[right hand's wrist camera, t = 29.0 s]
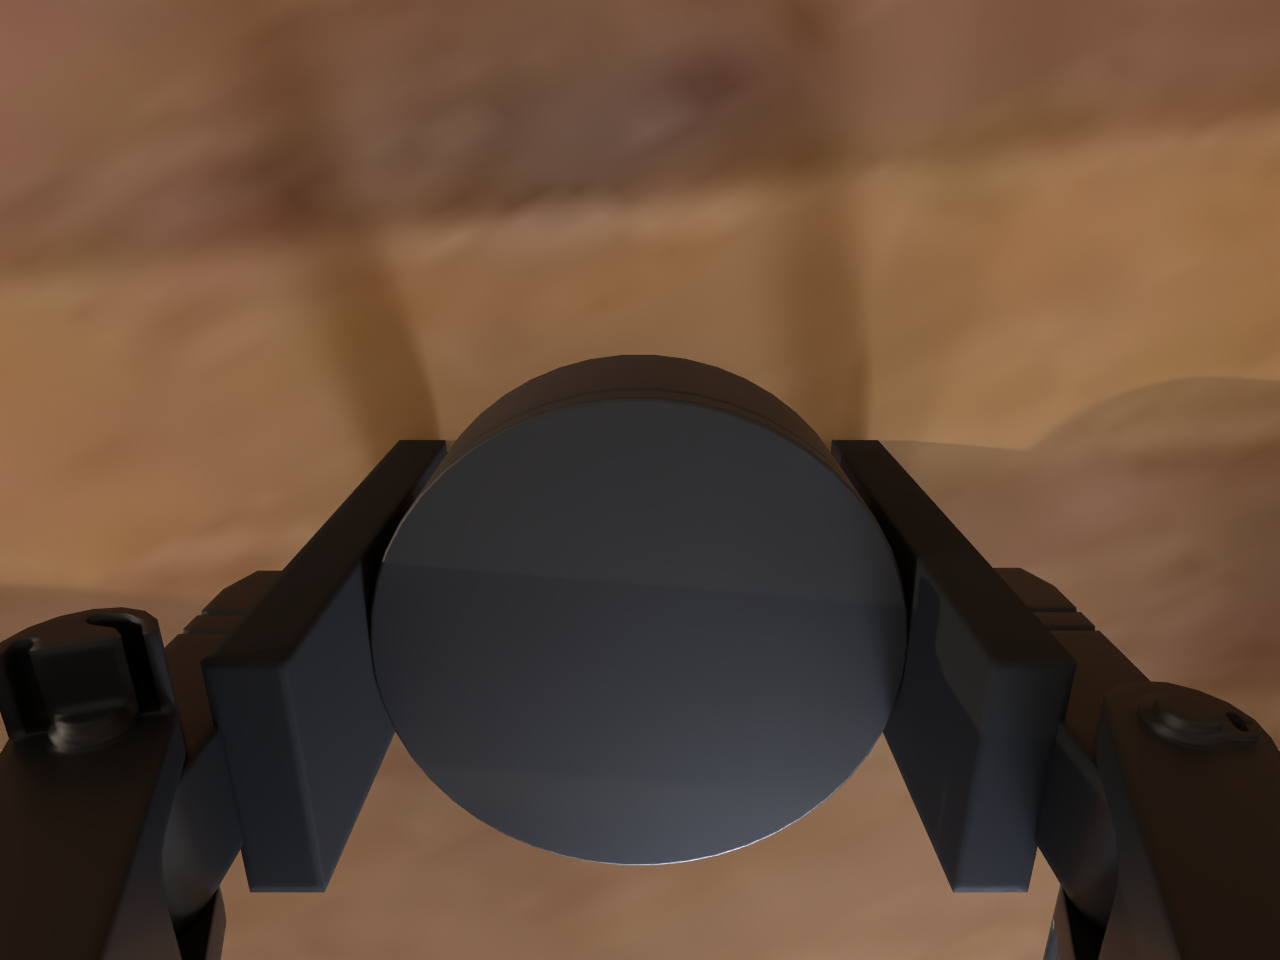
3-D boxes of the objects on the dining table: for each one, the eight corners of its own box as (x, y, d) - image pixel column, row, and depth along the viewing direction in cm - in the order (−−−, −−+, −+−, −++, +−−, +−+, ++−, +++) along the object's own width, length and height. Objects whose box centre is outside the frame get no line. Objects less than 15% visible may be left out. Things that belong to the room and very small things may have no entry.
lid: (953, 552, 12) (1022, 635, 10) (658, 818, 13) (662, 940, 11) (613, 248, 10) (607, 269, 8) (331, 591, 12) (263, 681, 10)
